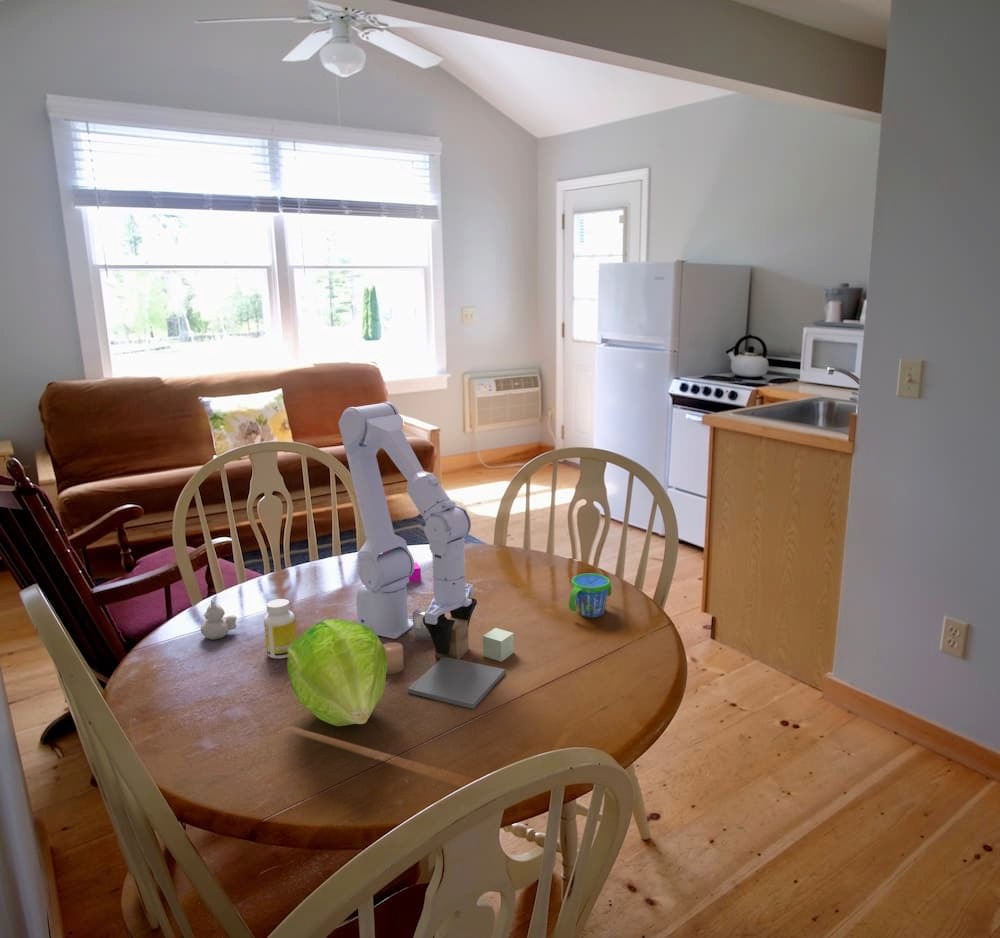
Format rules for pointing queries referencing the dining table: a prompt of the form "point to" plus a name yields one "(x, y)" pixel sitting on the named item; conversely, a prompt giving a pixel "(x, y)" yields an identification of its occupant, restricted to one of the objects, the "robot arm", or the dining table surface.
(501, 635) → the pale green block
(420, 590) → the dining table surface
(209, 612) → the grey rounded figure
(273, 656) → the supplement bottle
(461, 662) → the slate coaster
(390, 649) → the peach rounded cylinder
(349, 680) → the lettuce
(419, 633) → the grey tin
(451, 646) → the walnut block
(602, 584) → the snack cup
